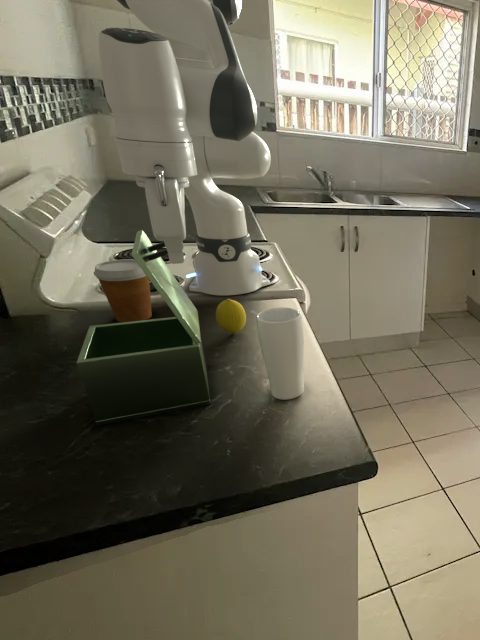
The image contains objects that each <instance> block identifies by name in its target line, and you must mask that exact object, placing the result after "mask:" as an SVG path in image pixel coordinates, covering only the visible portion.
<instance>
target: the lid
mask: <svg viewBox="0 0 480 640" xmlns="http://www.w3.org/2000/svg"><path fill="white" fill-rule="evenodd" d="M163 248H164V249H163ZM160 249H161V250H160ZM158 250H159V251H158ZM131 251H132V252H131V256H132V258H133V259H135V260H136V262H137V263H138V265H139V266H140V267H141V269H142V270H143V272H144V273H145V274H146V276H147V277H148V279H149V282H150V284H152V285H153V288H154V289H155V290H156V292H158V294H159V295H160V297H161V298H162V299H163V301H164V302H165V304H166V305H167V307H168V308H169V310H170V311H171V312H172V314H173V315H174V317H176V318H177V319H178V320H179V322H180V323H181V325H182V326H183V327H184V329H185V330H186V332H187V333H188V334H189V336H190V337H191V339H192V340H193V341H194V343H195V344H198V343H200V342H201V343H202V337H201V330H200V320H199V311H198V309H197V308H196V306H195V305H194V303H193V302H192V300H191V299H190V297H189V296H188V295H187V293H186V291H185V290H184V289H183V287H182V285H181V284H180V283H179V281H178V280H177V279H176V277H175V275H174V274H173V272H172V271H171V270H170V269H169V267H168V265H167V263H166V262H165V261H164V260H163V259H164V258H162V257H164V256H165V257H166V256H168V252H167V249H166V246H165V244H164V241H160V242H158V243H155V244H153V242H151V240H150V238H149V237H148V236H147V234H146V232H145V231H144V230H143V229H141V230H138V231H137V232H136V235H135V238H134V242H133V246H132V250H131Z"/></svg>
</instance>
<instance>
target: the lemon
mask: <svg viewBox="0 0 480 640" xmlns="http://www.w3.org/2000/svg"><path fill="white" fill-rule="evenodd" d="M215 320H216V323H217V325H218V327H219V328H220V329H221V330H223V331H225V332H227V333H230V334H232V335H235V334H236V333H238V332H239V331H241V330H242V329H243V328H244V327H245V325H246V324H247V323H246V322H247V314H246V311H245V309H244V307H243V305H242V304H241V303H240V302H238V301H237V300H235V299H234V300H233V299H231V298H226V299H225V300H223V301H221V302H220V303H219V304H218V305H217V307H216V310H215Z"/></svg>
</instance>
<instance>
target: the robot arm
mask: <svg viewBox="0 0 480 640" xmlns="http://www.w3.org/2000/svg"><path fill="white" fill-rule="evenodd" d="M116 1H117V2H118V3H119V4H120V5H121V6H122V7H123V8H125V9H127V10H130V11H131V13H133V15H134V16H135V17H136V18H137V20H138V21H139V22H141V23H142V24H143V25H144V26H145V27H146V28H148V29H149V30H150V31H148V30H143V29H142V30H141V29H137V28H136V29H135V28H128V27H108V28H105V29H102V30H101V31H99V33H98V53H99V65H100V71H101V72H100V73H101V79H102V86H103V91H104V95H105V99H106V103H107V107H108V109H109V110H110V111H111V112H112V114H113V115H112V116H113V117H114V133H113V134H114V139H115V143H116V148H117V152H118V156H119V161H120V165H121V170H122V173H123V174H125V175H129V176H132V177H134V178H135V183H136V185H137V186H138V187H140V188H144V194H145V199H146V206H147V210H148V215H149V220H150V226H151V231H152V234H153V236H154V239H155V240H157V241H159V242H164V244H165V246H166V247H165V249H167V252H168V254H167V256H168V261H169V263H171V264H173V265H176V264H177V265H178V264H184V262H185V255H184V247H185V246H184V241H185V239H187V228H186V227H187V225H186V214H185V213H186V212H185V207H186V206H185V197H186V199H187V201H188V202H189V205H190V208H191V211H192V212H191V213H192V216H193V219H194V223H195V227H196V235H195V241H196V242H195V243H196V245H197V250H198V253H197V254H196V255H195V256H194V258H193V259H192V267H193V269H194V272H192V273H189V274H186V275H185V277H186V279H189V278H192V277H194V278H193V280H192V281H191V283H190V285H189V286H188V290H189V291H190V292H195V293H196V292H197V293H203V294H207V295H211V296H237V295H243V294H249V293H252V292H255V291H257V290H259V289H261V288H263V287H265V286H269V285H271V280H270V279H269V278H268V277H266V276H265V275H264V274H263V273H262V271H263V268H262V267H261V261H260V256H259V255H258V254H257V253H256V252H254V251H253V250H252V249H251V248H252V239H251V236H250V233H249V232H248V227H247V219H246V212H245V211H246V210H245V207H244V204H243V203H242V201H240V200H239V199H238V198H237V197H235V196H234V195H232V194H230V193H228V192H226V191H224V190H221V189H220V188H219V187H218V186H217V185H216V183H215V182H214V180H213V179H230V180H231V179H232V180H250V179H256V178H263V177H264V176H265V175H266V174H267V173H268V172H269V169H270V168H271V162H272V156H271V151H270V149H269V147H268V145H267V143H266V142H265V141H264V139H262V138H261V137H260V136H259V135H258V134H257V133H255V132H254V131H255V130H256V127H257V126H256V125H257V122H258V110H257V108H258V107H257V103H256V99H255V97H254V93H253V92H252V90H251V88H250V86H249V84H248V81H247V79H246V76H245V74H244V71H243V68H242V65H241V62H240V59H239V57H238V53H237V50H236V47H235V44H234V40H233V38H232V34H231V32H230V29H229V26H231V25H234V24H235V23H236V22H237V20H239V19H240V13H241V10H242V6H243V5H242V3H243V0H116ZM151 31H152V32H151Z"/></svg>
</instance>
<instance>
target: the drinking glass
mask: <svg viewBox="0 0 480 640" xmlns="http://www.w3.org/2000/svg"><path fill="white" fill-rule="evenodd" d="M255 317H256V328H257V334H258V335H257V336H258V341H259V346H260V349H261V354H262V357H263V362H264V366H265V370H266V374H267V378H268V383H269V389H270V394H271V396H272V397H273V398H275V399H277V400H280V401H281V400H283V401H289V400H293V399H295V398H298V397H300V396H301V395H303V393H304V391H305V383H304V343H305V342H304V341H305V340H304V326H303V325H304V324H303V320H302V319H303V317H302V312H301V311H300V310H298V309H295V308H291V307H273V308H267V309H264V310H261V311H260V312H258V313H257V314H256V316H255Z"/></svg>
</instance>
